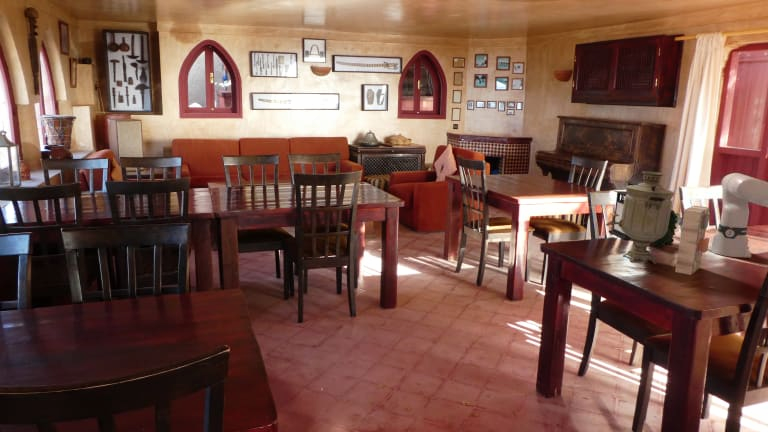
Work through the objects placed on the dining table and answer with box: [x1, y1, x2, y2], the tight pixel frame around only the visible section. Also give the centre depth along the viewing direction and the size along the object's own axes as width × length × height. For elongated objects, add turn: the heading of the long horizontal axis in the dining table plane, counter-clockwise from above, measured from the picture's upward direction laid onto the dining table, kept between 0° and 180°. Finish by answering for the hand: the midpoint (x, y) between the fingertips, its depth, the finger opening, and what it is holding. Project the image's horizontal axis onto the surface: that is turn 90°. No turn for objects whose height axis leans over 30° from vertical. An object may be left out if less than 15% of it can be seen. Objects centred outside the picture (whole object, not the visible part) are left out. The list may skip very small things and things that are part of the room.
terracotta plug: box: [698, 237, 710, 254], centre depth 240 cm, size 6×9×6 cm, turn 49°
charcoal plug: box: [681, 213, 710, 230], centre depth 239 cm, size 6×9×6 cm, turn 49°
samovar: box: [605, 171, 675, 265], centre depth 254 cm, size 30×26×40 cm
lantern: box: [608, 172, 643, 241], centre depth 301 cm, size 17×17×35 cm
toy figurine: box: [652, 209, 678, 249], centre depth 284 cm, size 9×19×25 cm
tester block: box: [674, 205, 710, 276], centre depth 241 cm, size 16×6×27 cm, turn 139°
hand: (762, 203), depth 229 cm, fingers closed
